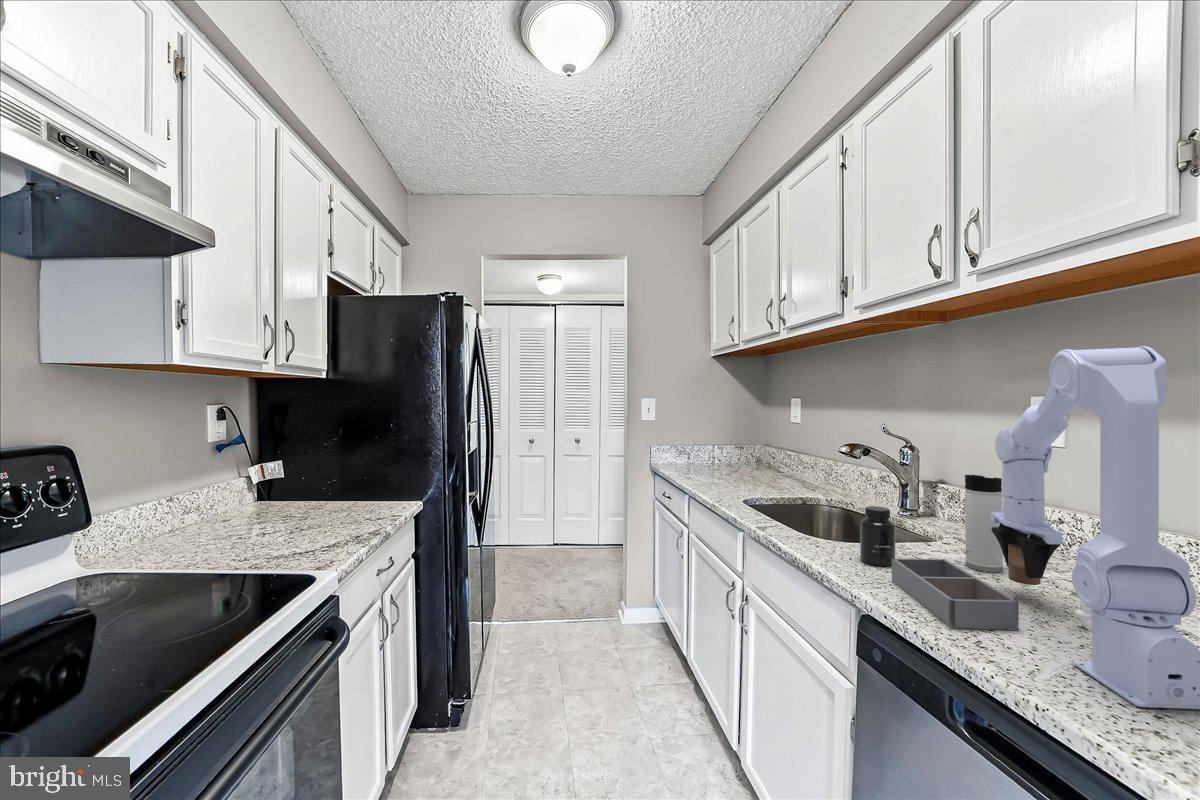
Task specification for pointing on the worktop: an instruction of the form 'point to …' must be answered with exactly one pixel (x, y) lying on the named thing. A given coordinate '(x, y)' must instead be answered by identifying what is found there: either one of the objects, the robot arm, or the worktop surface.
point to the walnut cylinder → (1018, 566)
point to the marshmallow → (1084, 615)
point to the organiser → (955, 594)
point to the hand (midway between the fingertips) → (1024, 572)
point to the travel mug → (982, 523)
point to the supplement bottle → (877, 537)
